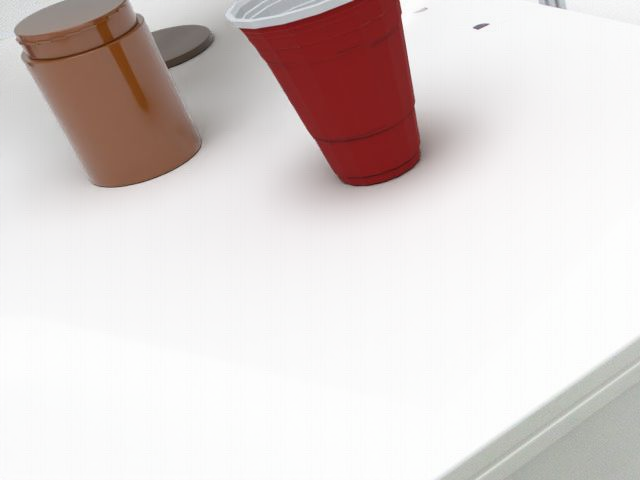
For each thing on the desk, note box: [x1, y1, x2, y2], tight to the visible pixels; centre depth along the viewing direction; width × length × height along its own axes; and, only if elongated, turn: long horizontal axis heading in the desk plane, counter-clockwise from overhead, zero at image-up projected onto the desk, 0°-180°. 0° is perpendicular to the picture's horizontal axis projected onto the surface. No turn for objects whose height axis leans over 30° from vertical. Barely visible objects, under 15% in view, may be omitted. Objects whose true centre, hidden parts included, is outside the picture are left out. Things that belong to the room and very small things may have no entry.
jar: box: [13, 0, 202, 188], centre depth 76 cm, size 8×8×11 cm
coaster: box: [150, 24, 214, 69], centre depth 97 cm, size 10×10×1 cm
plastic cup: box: [224, 0, 421, 186], centre depth 68 cm, size 11×11×12 cm
